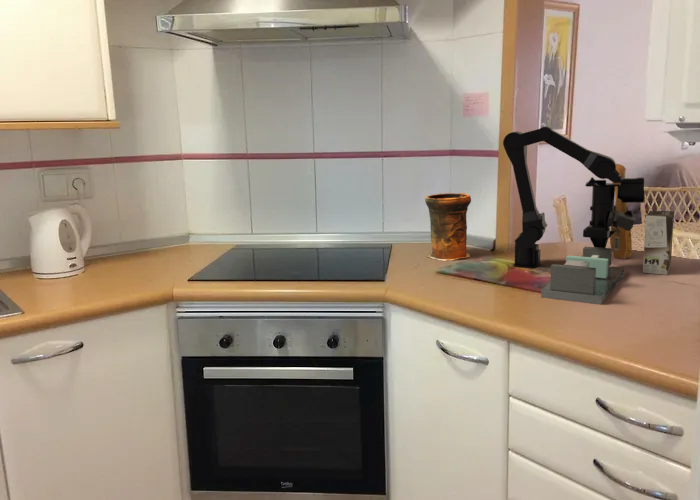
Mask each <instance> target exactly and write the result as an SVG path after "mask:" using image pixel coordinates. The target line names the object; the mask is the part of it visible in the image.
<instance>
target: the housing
mask: <svg viewBox="0 0 700 500" xmlns="http://www.w3.org/2000/svg"><path fill="white" fill-rule="evenodd" d="M563 265H568V266H578V267H589V268H590V262H584V261H573V260H569V261H567V262H566V261H565V263H563Z"/></svg>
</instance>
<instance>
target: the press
mask: <svg viewBox="0 0 700 500" xmlns="http://www.w3.org/2000/svg"><path fill="white" fill-rule="evenodd" d="M624 275H625V267H622V266H621V267H620V266H612V265H610V266H608V277H607V278H596V268H589V267H578V266H568V265H564V264H556V263H552V264H551V265H550V276H549V278H550V280H549V282H548V283H547V284H546V285H544V287H542V288H541V290H540V292H541V293H540V294H541V295H540V298H547V299H553V300H554V299H555V300H563V301H570V302H579V303H586V304H587V303H588V304H595V305H602V304H603V303H604V301H605V300H606V299H607V297H608V296H610V294H611V293H612V291H613V290H614V289H615V287H616V286H617V285H618V284H619V282H620V281H621V279H622V278H623V277H624Z"/></svg>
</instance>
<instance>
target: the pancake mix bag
mask: <svg viewBox="0 0 700 500" xmlns="http://www.w3.org/2000/svg"><path fill="white" fill-rule="evenodd" d="M615 164H616V170H617V171H618V173H619V174H621V177H622V179H623V178H626V170H627V168H626V167H625V166H624V165H622V164H620V163H615ZM611 183H613V182H612V181H611ZM617 191H618V187H615V196H614V199H615V201H614V205H615V206H616V207H617V208H616V211H619V212H623V213H625V212H626V211H628V210H629V205H628V203H621V200H620V198H619V199H617ZM610 231H615V233H614V234H613V235H612V236H611V237H609V243H610V248H612V255H613V257H614V258H616V259H622V260H626V259H630V258H631V256H632V250H633V247H632V246H633V244H632V229H631V230H630V231H627V230H624V228H621V227H618V228H615V226H610Z"/></svg>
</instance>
